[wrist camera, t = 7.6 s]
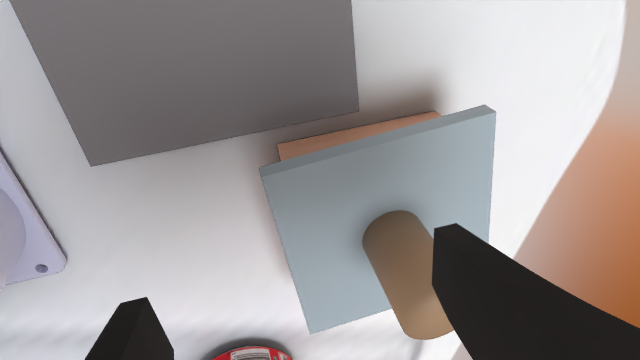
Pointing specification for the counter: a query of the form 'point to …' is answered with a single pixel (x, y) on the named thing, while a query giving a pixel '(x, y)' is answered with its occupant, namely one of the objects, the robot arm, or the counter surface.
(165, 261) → the counter surface
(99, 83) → the mat
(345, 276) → the lid
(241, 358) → the soda can
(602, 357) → the robot arm
